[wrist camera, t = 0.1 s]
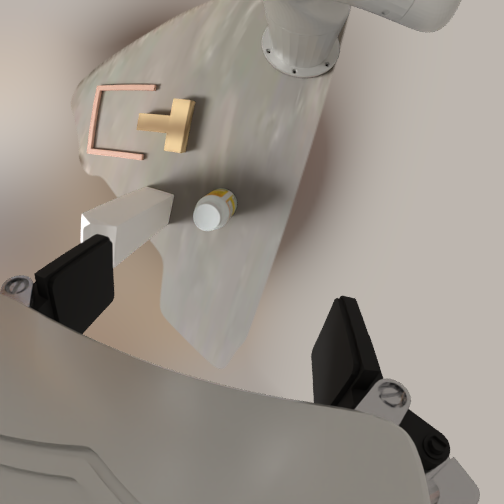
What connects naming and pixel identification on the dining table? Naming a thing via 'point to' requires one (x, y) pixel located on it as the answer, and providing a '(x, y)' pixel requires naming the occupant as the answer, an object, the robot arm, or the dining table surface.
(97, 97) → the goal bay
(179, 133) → the t block
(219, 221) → the supplement bottle
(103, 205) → the milk
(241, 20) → the dining table surface
